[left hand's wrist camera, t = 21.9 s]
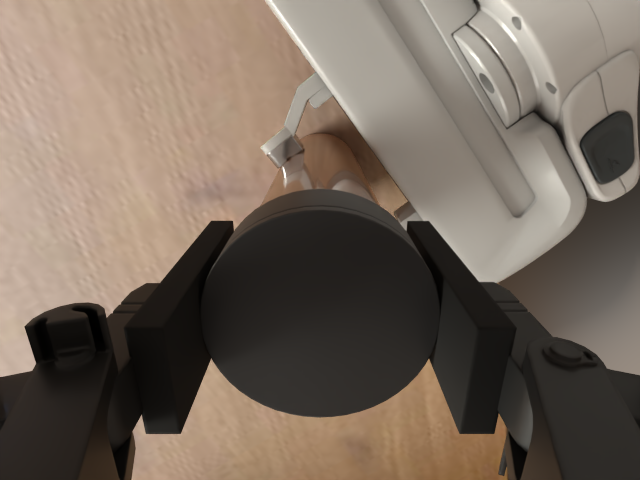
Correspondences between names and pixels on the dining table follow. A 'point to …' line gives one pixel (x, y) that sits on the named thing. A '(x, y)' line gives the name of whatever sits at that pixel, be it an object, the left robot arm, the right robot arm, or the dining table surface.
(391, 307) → the lid
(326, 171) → the jar
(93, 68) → the dining table surface
